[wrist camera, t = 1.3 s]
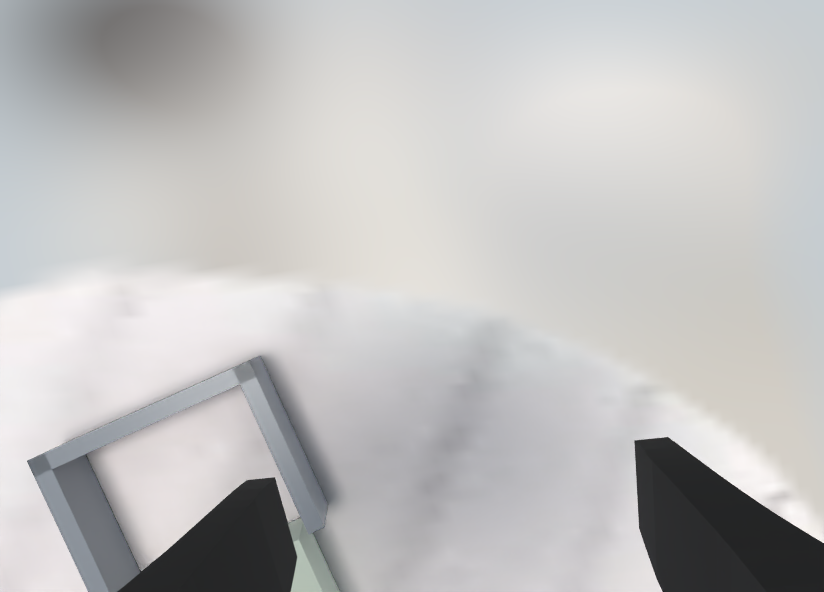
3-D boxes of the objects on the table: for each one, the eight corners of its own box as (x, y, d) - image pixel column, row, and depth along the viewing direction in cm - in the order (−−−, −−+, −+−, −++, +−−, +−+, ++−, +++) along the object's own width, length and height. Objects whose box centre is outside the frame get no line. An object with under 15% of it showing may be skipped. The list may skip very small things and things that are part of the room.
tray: (133, 597, 28) (107, 631, 25) (62, 444, 28) (27, 460, 25) (327, 504, 29) (324, 526, 26) (260, 355, 29) (248, 361, 26)
